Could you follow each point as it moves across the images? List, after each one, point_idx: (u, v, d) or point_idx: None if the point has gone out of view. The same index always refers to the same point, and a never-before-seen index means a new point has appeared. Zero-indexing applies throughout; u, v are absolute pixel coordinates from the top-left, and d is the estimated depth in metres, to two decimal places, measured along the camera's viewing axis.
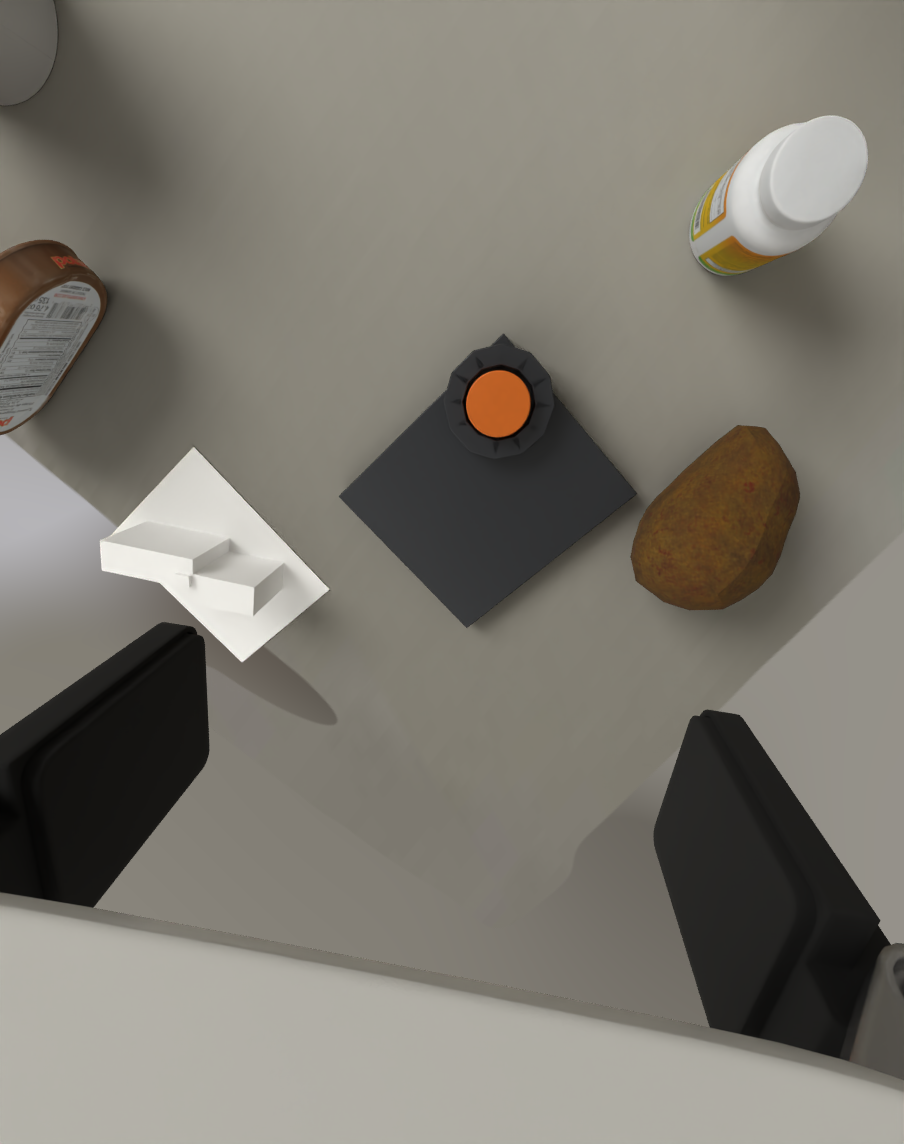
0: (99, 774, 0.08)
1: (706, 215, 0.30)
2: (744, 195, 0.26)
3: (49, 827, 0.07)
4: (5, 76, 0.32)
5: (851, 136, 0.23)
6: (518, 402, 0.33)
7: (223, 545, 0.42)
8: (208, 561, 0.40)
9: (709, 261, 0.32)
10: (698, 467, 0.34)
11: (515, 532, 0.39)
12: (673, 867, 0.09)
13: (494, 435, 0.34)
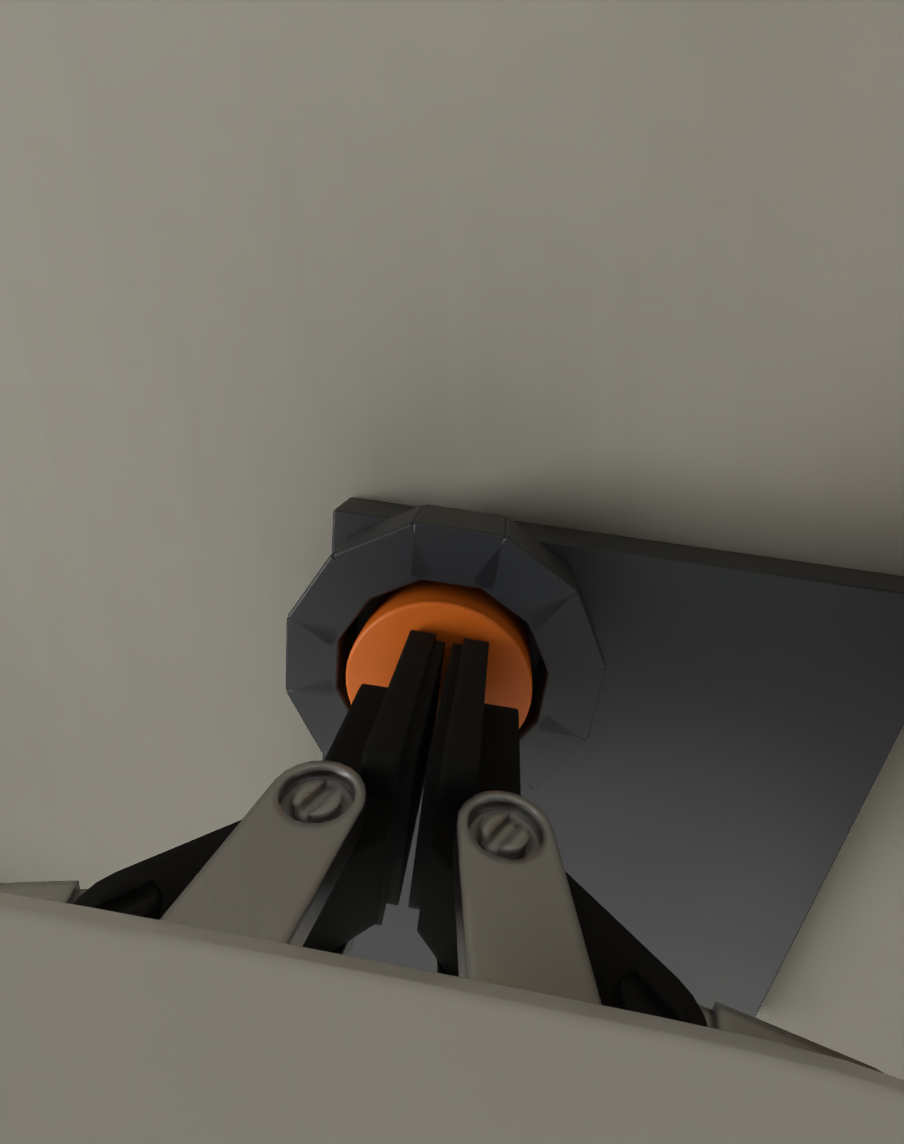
0: (419, 767, 0.08)
1: None
2: None
3: (407, 813, 0.08)
4: None
5: None
6: None
7: None
8: None
9: None
10: None
11: (699, 853, 0.15)
12: None
13: None
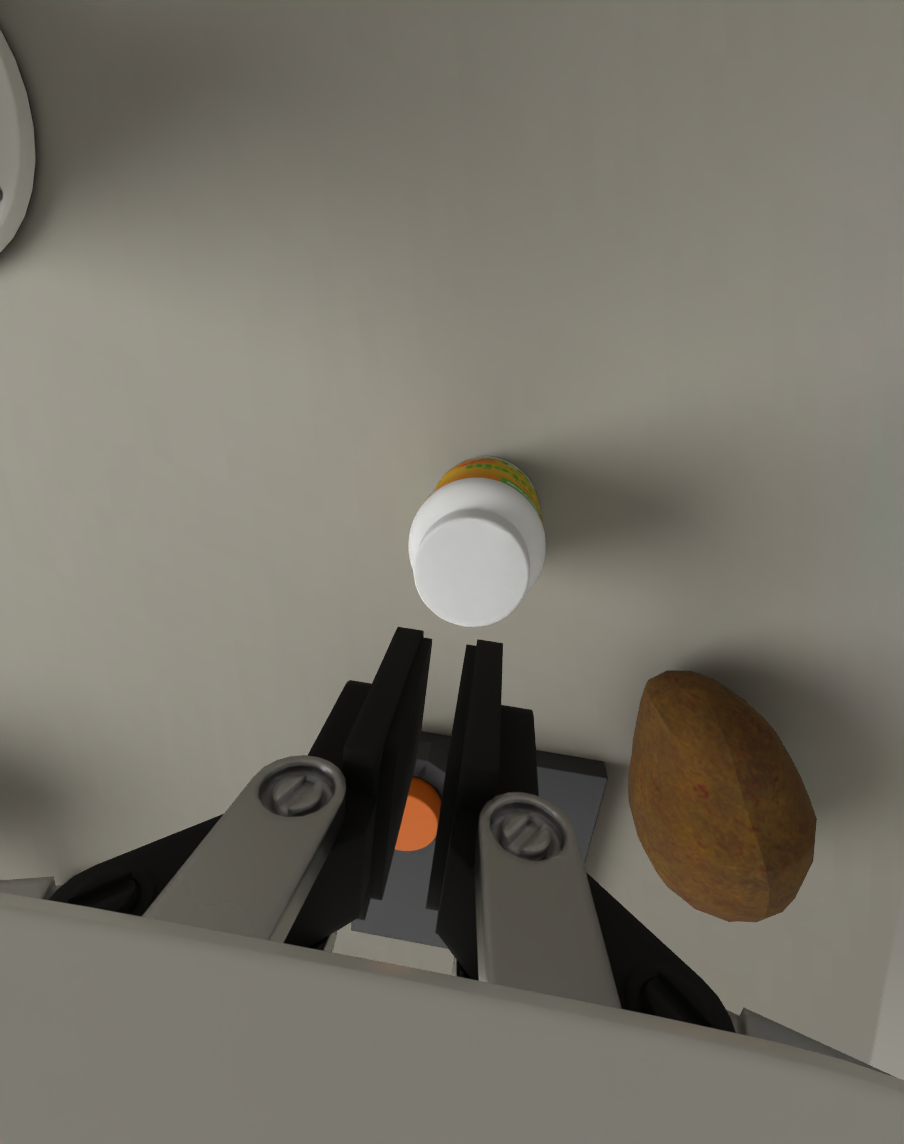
0: (403, 763, 0.09)
1: None
2: None
3: (389, 808, 0.08)
4: None
5: (472, 529, 0.18)
6: (417, 811, 0.29)
7: None
8: None
9: None
10: (640, 751, 0.27)
11: None
12: None
13: (422, 846, 0.30)
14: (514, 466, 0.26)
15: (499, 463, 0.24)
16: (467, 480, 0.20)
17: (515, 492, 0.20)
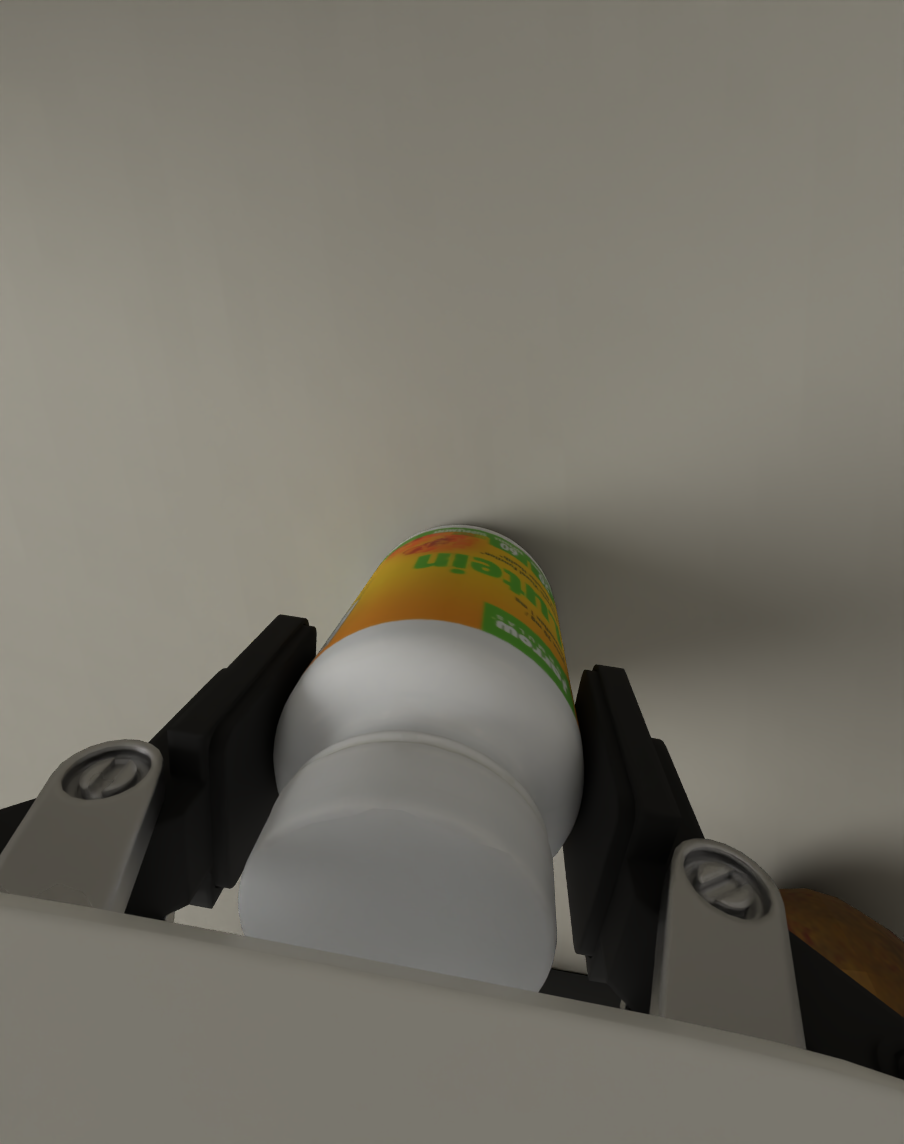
0: (254, 749, 0.08)
1: None
2: None
3: (225, 794, 0.08)
4: None
5: (389, 836, 0.06)
6: None
7: None
8: None
9: None
10: None
11: None
12: None
13: None
14: (512, 545, 0.14)
15: (484, 546, 0.13)
16: (401, 631, 0.08)
17: (515, 661, 0.08)
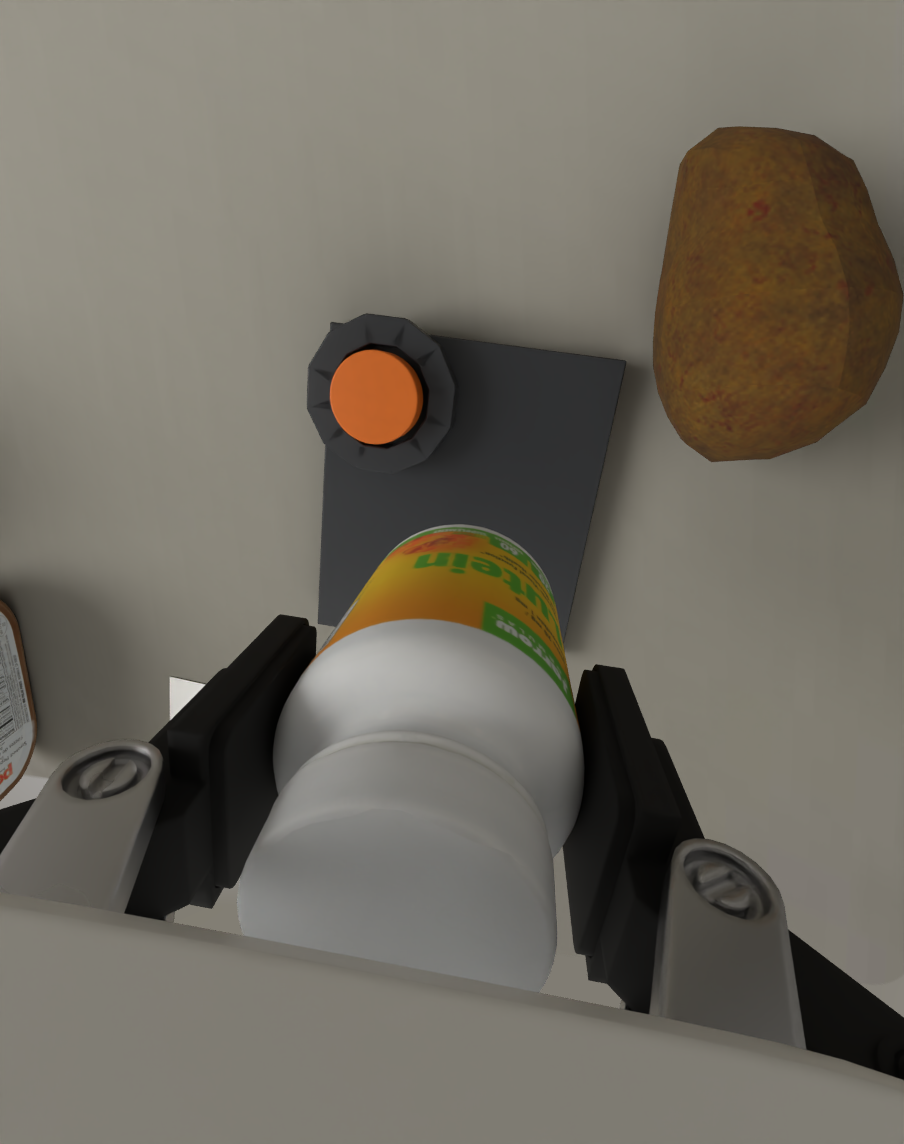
0: (254, 749, 0.08)
1: None
2: None
3: (225, 793, 0.08)
4: None
5: (389, 836, 0.06)
6: (391, 376, 0.23)
7: None
8: None
9: None
10: (671, 259, 0.21)
11: (522, 519, 0.28)
12: None
13: (398, 434, 0.24)
14: (512, 545, 0.14)
15: (483, 546, 0.13)
16: (401, 631, 0.08)
17: (515, 661, 0.08)
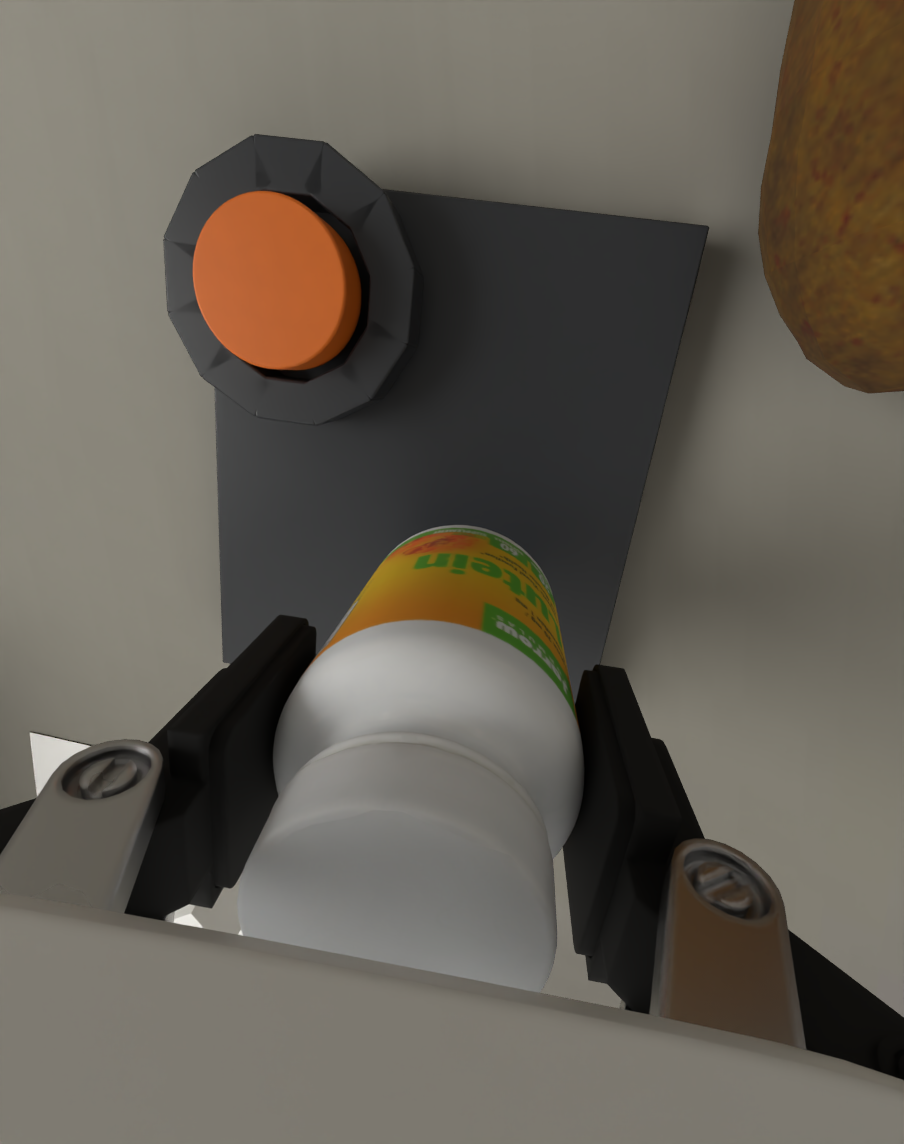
0: (254, 749, 0.08)
1: None
2: None
3: (225, 793, 0.08)
4: None
5: (389, 837, 0.06)
6: (298, 241, 0.13)
7: None
8: None
9: None
10: None
11: (530, 502, 0.17)
12: None
13: (314, 350, 0.14)
14: (512, 545, 0.14)
15: (484, 547, 0.13)
16: (401, 631, 0.08)
17: (516, 662, 0.08)
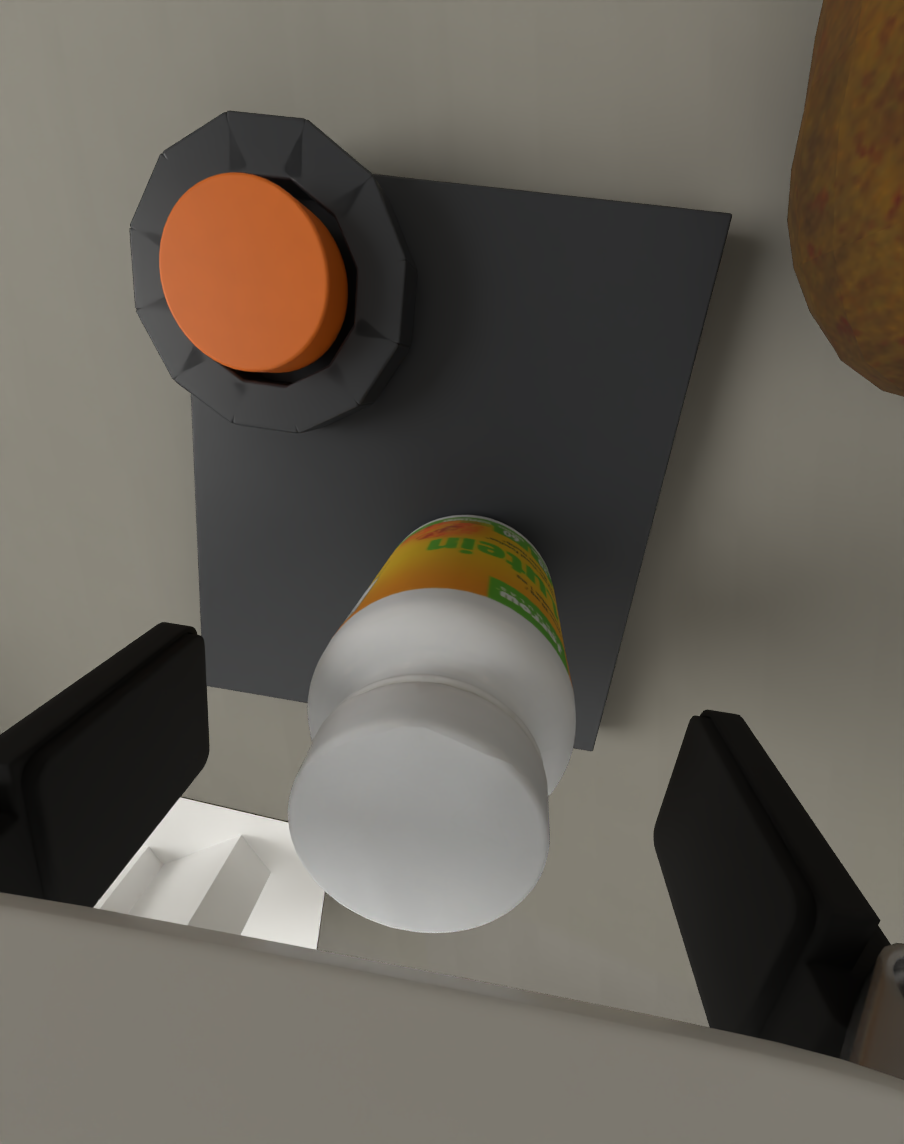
0: (99, 774, 0.08)
1: None
2: None
3: (49, 827, 0.07)
4: None
5: (414, 749, 0.07)
6: (275, 229, 0.12)
7: (139, 870, 0.24)
8: None
9: None
10: None
11: (534, 516, 0.16)
12: (673, 867, 0.09)
13: (295, 351, 0.12)
14: (514, 533, 0.15)
15: (488, 532, 0.14)
16: (419, 596, 0.10)
17: (516, 622, 0.10)
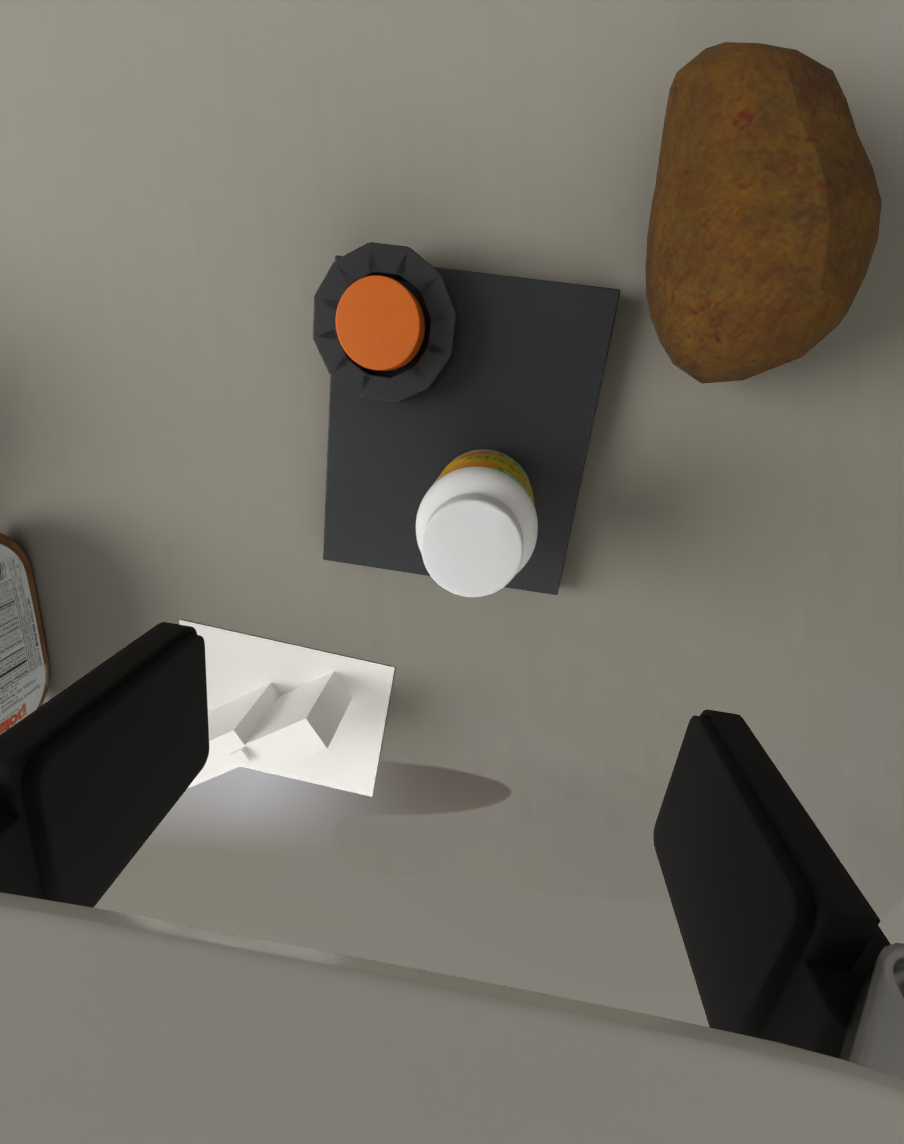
0: (99, 774, 0.08)
1: None
2: None
3: (49, 827, 0.07)
4: None
5: (473, 510, 0.20)
6: (395, 301, 0.24)
7: (268, 694, 0.36)
8: (258, 720, 0.34)
9: None
10: (662, 181, 0.22)
11: (521, 450, 0.29)
12: (673, 867, 0.09)
13: (401, 360, 0.25)
14: (510, 458, 0.28)
15: (496, 455, 0.27)
16: (468, 468, 0.23)
17: (511, 479, 0.22)
